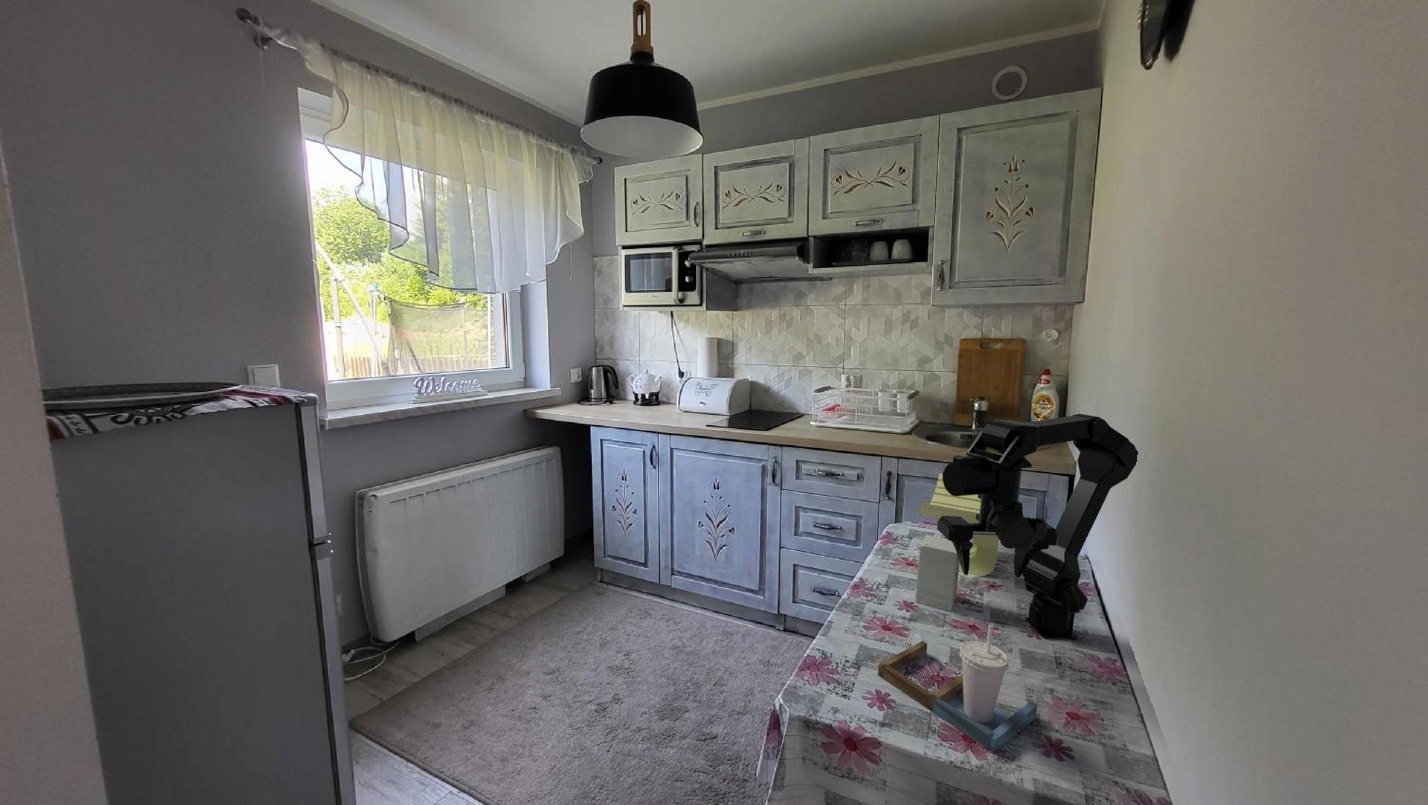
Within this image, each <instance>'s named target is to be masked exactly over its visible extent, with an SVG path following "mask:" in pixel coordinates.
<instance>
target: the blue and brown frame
mask: <svg viewBox="0 0 1428 805" xmlns="http://www.w3.org/2000/svg"><path fill="white" fill-rule="evenodd" d="M927 653H928V643H927V642H925V641H923V640H922V641H919V642H918V643H915V644H914V645H912V646H910V647H908V648H906V649H904V650H902V651H900V652H899V653H896V654H895V655H893V656H891V657H890V658H887V659H885V660H884V661H881V662H880V663H878V671H877V675H878V677H879V678H882V679H883V680H884V681H886V682H887V683H888V684H890V685H892V686H894V687H895V688H896V689H898V690H899V691H901V692H902V693H904V694H905V695H906V696H908V697H910V698H911V699H912V700H914V701H916V703H918V704H920V705H921V706H923V707H925V708H926V709H927V710H929V711H931V713H933V714H935V715H936V716H938V718H941V719H943V720H944V721H945V722H947V723H948V724H950V725H951V726H953V727H954V728H956V729H957V730H958V731H960V732H961V733H963V734H965V735H966V736H968V737H969V738H971V739H972V740H973V741H975V742H976V743H977V744H979V745H980V746H982V747H984V748H985V749H987V750H988V751H990V752H991V753H993V754H995V753H996V752H997V751H999V749H1000V748H1003V746H1004V745H1005V744H1007V743H1008V742H1010V740H1012V739H1013V737H1015V736H1016V735H1017V734H1018V733H1019V732H1021V731H1022V730H1023V729H1024V728H1025V727H1027V726H1028V725H1029V724H1030V723H1032V721H1034V720H1035V719H1036V718H1037V710H1038V705H1037V704H1036V703H1034V702H1032V701H1028V702H1027V703H1026V704H1025V705H1024V706H1023V707H1020V709H1018V711H1016V712H1014V713H1013V714H1012V715H1011V714H1010V713H1008V712H1006V711H1004V710H1003V709H1002V708H1000V707H997V705H995V709H994V712H993V716H992V719H991V721H989V722H978V721H976V720H973V719H972V718H970V717H969V716H968V715H967V714H966V713H965V711H964V695H963V673H962V674H961V675H959V676H958V677H956V678H954V679H953V680H952V681H949V682H948V683H947V684H945V685H943V686H942V687H940V688H939V689H937V690H935V691H934V692H933V693H932V692H930V691H928V690H927V689H926V688H924V687H923V686H921V685H919V684H917V682H915V681H913V680H912V679H910V678H909V677H907V676H906V675H904V674H902V673H900V672H899V670H901V669H902V668H904V667H906V666H908V665H910V664H912V663H913V662H916V661H917V660H919V659H920V658H922V657H924V656H926V655H927Z"/></svg>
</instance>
